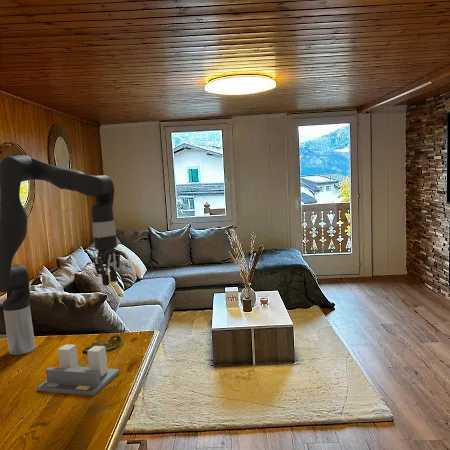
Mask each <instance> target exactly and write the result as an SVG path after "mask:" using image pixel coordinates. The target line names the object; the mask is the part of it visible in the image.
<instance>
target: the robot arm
mask: <svg viewBox="0 0 450 450" xmlns="http://www.w3.org/2000/svg"><path fill="white" fill-rule="evenodd" d="M29 180H31V181H32V180H33V181H34V180H37V181H38V180H39V181H45V182H47V183H49V184H52V185H53V186H55V187H57V188H60V189H64V190H67V191H68V190H69V191H72V192H78V193H80V194H82V195H85V196H87V197H92V198H95V203H94V204H93V205H92V206H91V207H90V208H91V209H90V212H91V220H92V236H93V238H92V239H93V244H94V249H95V250H97V257H96V258H95V257H93V259H92V262H93V265H94V268H95V271H96V274H97V275H100V276H101V280H102V281H101V282H102V286H105V287H107V286H110V282H111V283H116V282H117V281H118V279H117V278H118V277H117V271H118V269H119V268H120V264H121V263H120V261H121V251H120V250H116V249H115V248H117V247H118V239H117V230H116V224H115V219H114V210H113V205H114V199H115V184H114V182H113V180H112V178H111V177H110V176H109V175H104V174H103V175H91V174H86V173H85V172H83V171H80V170H76V169H70V168H66V167H61V166H56V165H52V164H49V163H46V162H43V161H41V160H38V159H36V158H34V157H31V156H29V155H26V154H17V155H9V156H5V157H4V158H3V159H2V160H1V161H0V293H3V294H4V293H5V294H6V293H9V292H11V291H12V292H11V294H10V296H9V297H7V298H6V299H5V300H4V301H3V302H2V310H3V317H4V323H5V332H6V339H7V346H8V353H9V355H11V356H20V355H26V354H29V353H30V352H33V351H34V350H36V342H35V334H34V326H33V320H32V318H33V317H32V312H31V305H30V301H31V300H30V299H31V291H30V290H31V289H30V287H31V286H30V276H29V272H28V269H27V267H25V265H23V264H21V263H20V264H19V263H16V264H13V259H14V257H15V255H16V254H17V252H18V250H19V249H20V247H21V246H22V244H23V242H24V241H25V239H26V236H27V232H28V215H27V212H26V209H25V207H24V206H23V203H22V202H21V196H20V193H21V192H20V191H21V184H22V182H27V181H29Z"/></svg>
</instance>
